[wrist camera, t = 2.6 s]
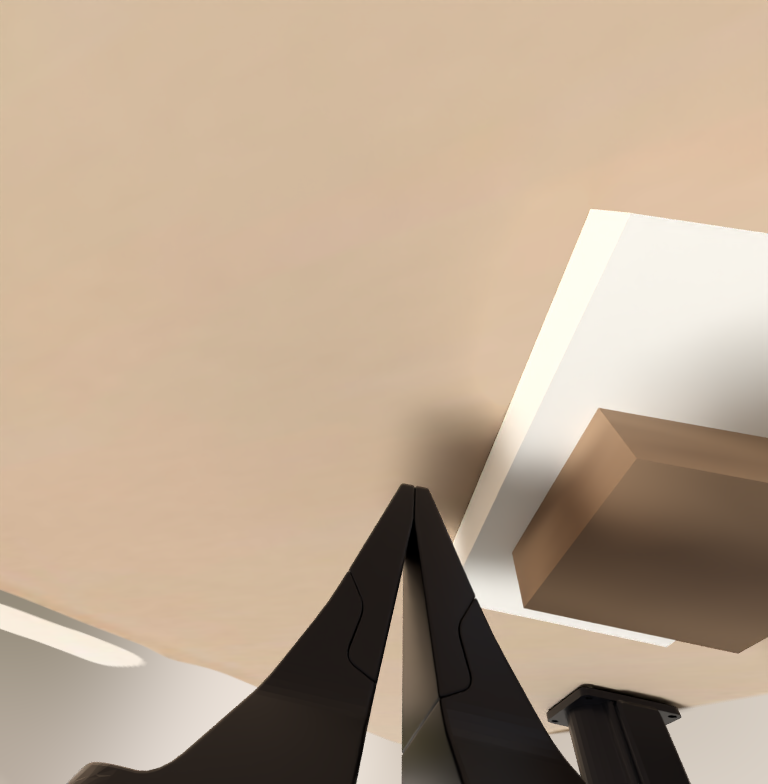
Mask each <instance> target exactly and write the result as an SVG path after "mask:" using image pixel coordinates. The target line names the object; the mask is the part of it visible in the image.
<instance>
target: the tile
mask: <svg viewBox="0 0 768 784" xmlns="http://www.w3.org/2000/svg"><path fill="white" fill-rule="evenodd" d="M512 556H513V560H514V565H515V570H516V575H517V579H518V584H519V589H520V594H521V598H522V603H523V608H525V609H529V610H534V611H539V612H544V613H548V614H553V615H558V616H563V617H567V618H572V619H577V620H582V621H586V622H591V623H596V624H600V625H605V626H610V627H615V628H619V629H624V630H629V631H634V632H638V633H643V634H648V635H653V636H657V637H662V638H667V639H672V640H676V641H681V642H686V643H691V644H695V645H700V646H705V647H710V648H714V649H719V650H724V651H729V652H733V653H740V652H742V651H744V650H745V649H747V648H749V647H751V646H753V645H754V644H756V643H758V642H760V641H762V640H763V639H765V638H767V637H768V438H766V437H760V436H754V435H749V434H743V433H738V432H732V431H726V430H721V429H715V428H710V427H704V426H698V425H693V424H687V423H682V422H676V421H670V420H665V419H659V418H654V417H648V416H642V415H637V414H631V413H626V412H620V411H614V410H609V409H603V408H598V409H597V411H596V413H595V414H594V416H593V418H592V419H591V421H590V423H589V424H588V426H587V428H586V429H585V431H584V433H583V434H582V436H581V438H580V439H579V441H578V443H577V444H576V446H575V448H574V449H573V451H572V453H571V455H570V456H569V458H568V460H567V461H566V463H565V465H564V466H563V468H562V470H561V471H560V473H559V475H558V476H557V478H556V480H555V481H554V483H553V485H552V486H551V488H550V490H549V491H548V493H547V495H546V496H545V498H544V500H543V501H542V503H541V505H540V506H539V508H538V510H537V511H536V513H535V515H534V516H533V518H532V520H531V521H530V523H529V525H528V526H527V528H526V530H525V531H524V533H523V535H522V537H521V538H520V540H519V542H518V543H517V545H516V547H515V548H514V550H513V552H512Z"/></svg>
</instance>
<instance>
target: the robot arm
mask: <svg viewBox="0 0 768 784" xmlns="http://www.w3.org/2000/svg"><path fill="white" fill-rule="evenodd" d="M402 570H403V681H402V753H403V755H402V784H691V783H690V781H689V778H688V776H687V774H686V772H685V769H684V767H683V765H682V762H681V760H680V758H679V755H678V753H677V751H676V748H675V746H674V744H673V741H672V739H671V737H670V734H669V732H668V730H667V728H666V725H667V724H669V723H671V722H673V721H675V720H677V719H680V718H681V715H680V713H679V711H678V708H677V707H674V706H670V705H666V704H661V703H657V702H652V701H647V700H643V699H638V698H634V697H629V696H625V695H620V694H616V693H611V692H607V691H602V690H598V689H593V688H588V687H582V688H579V689H578V690H576V691H575V692H574V693H572V694H571V695H570V696H568V697H567V698H566V699H564V700H563V701H562V702H560V703H559V704H558V705H556V706H555V707H554V708H552V709H551V710H550V711H548V712H547V713H546V714H547V719H548V722H550V723H554V724H558V725H563V726H567V727H569V731H570V735H571V739H572V743H573V747H574V751H575V755H576V759H577V763H578V767H579V771H580V775H581V776H580V775H579V774H578V773H577V772H576V771H575V770H574V769H573V767H572V766H571V765H570V764H569V763H568V761H567V760H566V759H565V758H564V756H563V755H562V754H561V752H560V751H559V750H558V748H557V747H556V745H555V744H554V743H553V741H552V740H551V738H550V736H549V735H548V733H547V731H546V730H545V728H544V726H543V724H542V723H541V721H540V719H539V717H538V716H537V714H536V712H535V710H534V708H533V707H532V705H531V703H530V701H529V699H528V698H527V696H526V694H525V692H524V690H523V689H522V687H521V685H520V683H519V681H518V680H517V678H516V676H515V674H514V672H513V670H512V669H511V667H510V665H509V663H508V661H507V660H506V658H505V656H504V654H503V652H502V650H501V648H500V646H499V644H498V643H497V641H496V639H495V637H494V635H493V633H492V631H491V629H490V626H489V624H488V622H487V620H486V618H485V616H484V614H483V611H482V609H481V607H480V604H479V602H478V600H477V599H476V598H475V593H474V591H473V589H472V587H471V584H470V582H469V580H468V577H467V575H466V573H465V571H464V568H463V566H462V564H461V561H460V559H459V557H458V555H457V552H456V550H455V548H454V546H453V543H452V541H451V539H450V536H449V534H448V532H447V530H446V527H445V525H444V523H443V520H442V518H441V516H440V514H439V511H438V509H437V507H436V505H435V502H434V500H433V498H432V495H431V493H430V491H429V489H428V488H424V487H419V486H416V487H414V486H413V485H409V484H401V485H400V487H399V489H398V490H397V492H396V493H395V495H394V497H393V498H392V500H391V502H390V503H389V505H388V507H387V508H386V510H385V511H384V513H383V515H382V516H381V518H380V520H379V521H378V523H377V524H376V526H375V528H374V529H373V531H372V533H371V534H370V536H369V538H368V539H367V541H366V542H365V544H364V546H363V547H362V549H361V551H360V552H359V554H358V556H357V557H356V559H355V560H354V562H353V564H352V565H351V567H350V569H349V572H347V573H346V575H345V576H344V578H343V580H342V581H341V583H340V584H339V586H338V587H337V589H336V591H335V592H334V594H333V595H332V597H331V598H330V600H329V601H328V602H327V604H326V605H325V606H324V608H323V609H322V610H321V612H320V613H319V614H318V616H317V617H316V618H315V620H314V621H313V622H312V623H311V625H310V626H309V627H308V628H307V630H306V631H305V632H304V633H303V635H302V636H301V637H300V638H299V640H298V641H297V642H296V643H295V645H294V646H293V647H292V648H291V650H290V651H289V652H288V653H287V655H286V656H285V657H284V658H283V660H282V661H281V662H280V663H279V665H278V666H277V667H276V668H275V669H274V670H273V672H272V673H271V674H270V675H269V676H268V677H267V678H266V679H265V680H264V682H263V683H262V684H261V685H260V686H259V687H258V688H257V689H256V690H255V691H254V692H253V693H251V694H250V695H249V696H248V697H247V698H246V699H244V700H243V701H242V702H241V703H240V704H239V705H238V706H236V707H235V708H234V709H233V710H232V711H231V712H229V713H228V714H227V715H226V716H225V717H224V718H223V719H221V720H220V721H219V722H218V723H217V724H216V725H215V726H213V728H212V729H210V730H209V731H208V732H207V733H205V734H204V735H203V736H202V737H201V738H200V739H198V740H197V741H196V742H195V743H194V744H193V745H192V746H191V747H189V748H188V749H187V750H186V751H185V752H184V753H183V754H181V755H180V756H178V757H177V758H176V759H174V760H173V761H172V762H170V763H168V764H166V765H164V766H162V767H160V768H156V769H153V770H149V771H139V770H134V769H130V768H126V767H122V766H118V765H114V764H108V763H101V762H92V763H89V764H87V765H85V766H84V767H83V768H82V769H81V770H80V771H79V772H78V773H77V774H76V775H75V776H74V777H73V778H72V779H71V780H70V781H69V782H68V783H67V784H356V782H357V777H358V772H359V766H360V761H361V757H362V752H363V747H364V742H365V737H366V732H367V727H368V722H369V717H370V712H371V708H372V703H373V699H374V694H375V690H376V684H377V681H378V676H379V672H380V667H381V663H382V659H383V654H384V650H385V645H386V641H387V637H388V632H389V628H390V623H391V619H392V614H393V610H394V606H395V601H396V597H397V592H398V588H399V583H400V579H401V575H402Z"/></svg>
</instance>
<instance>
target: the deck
mask: <svg viewBox="0 0 768 784" xmlns="http://www.w3.org/2000/svg"><path fill="white" fill-rule="evenodd" d="M598 408H603V409H609V410H614V411H620V412H626V413H631V414H637V415H642V416H648V417H654V418H659V419H665V420H670V421H676V422H682V423H687V424H693V425H698V426H704V427H710V428H715V429H721V430H726V431H732V432H738V433H743V434H749V435H754V436H760V437H766V438H768V233H761V232H755V231H748V230H741V229H735V228H728V227H721V226H714V225H708V224H701V223H694V222H688V221H681V220H674V219H667V218H661V217H654V216H647V215H641V214H634V213H626V212H616V211H607V210H597V209H590V212H589V214H588V217H587V219H586V221H585V224H584V226H583V229H582V231H581V234H580V236H579V238H578V241H577V243H576V246H575V248H574V251H573V253H572V255H571V258H570V260H569V263H568V265H567V267H566V270H565V272H564V275H563V277H562V280H561V282H560V284H559V287H558V289H557V292H556V294H555V297H554V299H553V301H552V304H551V306H550V309H549V311H548V314H547V316H546V318H545V321H544V323H543V326H542V328H541V331H540V333H539V335H538V338H537V340H536V343H535V345H534V348H533V350H532V352H531V355H530V357H529V360H528V362H527V364H526V367H525V369H524V372H523V374H522V377H521V379H520V381H519V384H518V386H517V389H516V391H515V394H514V396H513V398H512V401H511V403H510V406H509V408H508V411H507V413H506V415H505V418H504V420H503V423H502V425H501V428H500V430H499V432H498V435H497V437H496V440H495V442H494V445H493V447H492V449H491V452H490V454H489V457H488V459H487V461H486V464H485V466H484V469H483V471H482V474H481V476H480V478H479V481H478V483H477V486H476V488H475V491H474V493H473V495H472V498H471V500H470V503H469V505H468V508H467V510H466V512H465V515H464V517H463V520H462V522H461V525H460V527H459V529H458V532H457V534H456V537H455V539H454V542H453V546H454V548H455V550H456V552H457V555H458V557H459V559H460V561H461V564H462V566H463V568H464V571H465V573H466V575H467V577H468V580H469V582H470V584H471V587H472V589H473V591H474V593H475V598H476V599H477V600H478V602H479V604H480V607H481V608H484V609H489V610H494V611H499V612H503V613H508V614H513V615H517V616H522V617H527V618H532V619H536V620H541V621H546V622H550V623H555V624H560V625H565V626H569V627H574V628H579V629H583V630H588V631H593V632H598V633H602V634H607V635H612V636H616V637H621V638H626V639H631V640H635V641H640V642H645V643H649V644H654V645H659V646H664V647H667V646H669V645H670V644H672V643H673V642H675V641H676V640H672V639H667V638H662V637H657V636H653V635H648V634H643V633H638V632H634V631H629V630H624V629H619V628H615V627H610V626H605V625H600V624H596V623H591V622H586V621H582V620H577V619H572V618H567V617H563V616H558V615H553V614H548V613H544V612H539V611H534V610H529V609H525V608H523V603H522V598H521V594H520V589H519V584H518V579H517V575H516V570H515V565H514V560H513V556H512V552H513V550H514V548H515V547H516V545H517V543H518V542H519V540H520V538H521V537H522V535H523V533H524V531H525V530H526V528H527V526H528V525H529V523H530V521H531V520H532V518H533V516H534V515H535V513H536V511H537V510H538V508H539V506H540V505H541V503H542V501H543V500H544V498H545V496H546V495H547V493H548V491H549V490H550V488H551V486H552V485H553V483H554V481H555V480H556V478H557V476H558V475H559V473H560V471H561V470H562V468H563V466H564V465H565V463H566V461H567V460H568V458H569V456H570V455H571V453H572V451H573V449H574V448H575V446H576V444H577V443H578V441H579V439H580V438H581V436H582V434H583V433H584V431H585V429H586V428H587V426H588V424H589V423H590V421H591V419H592V418H593V416H594V414H595V413H596V411H597V409H598Z"/></svg>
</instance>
